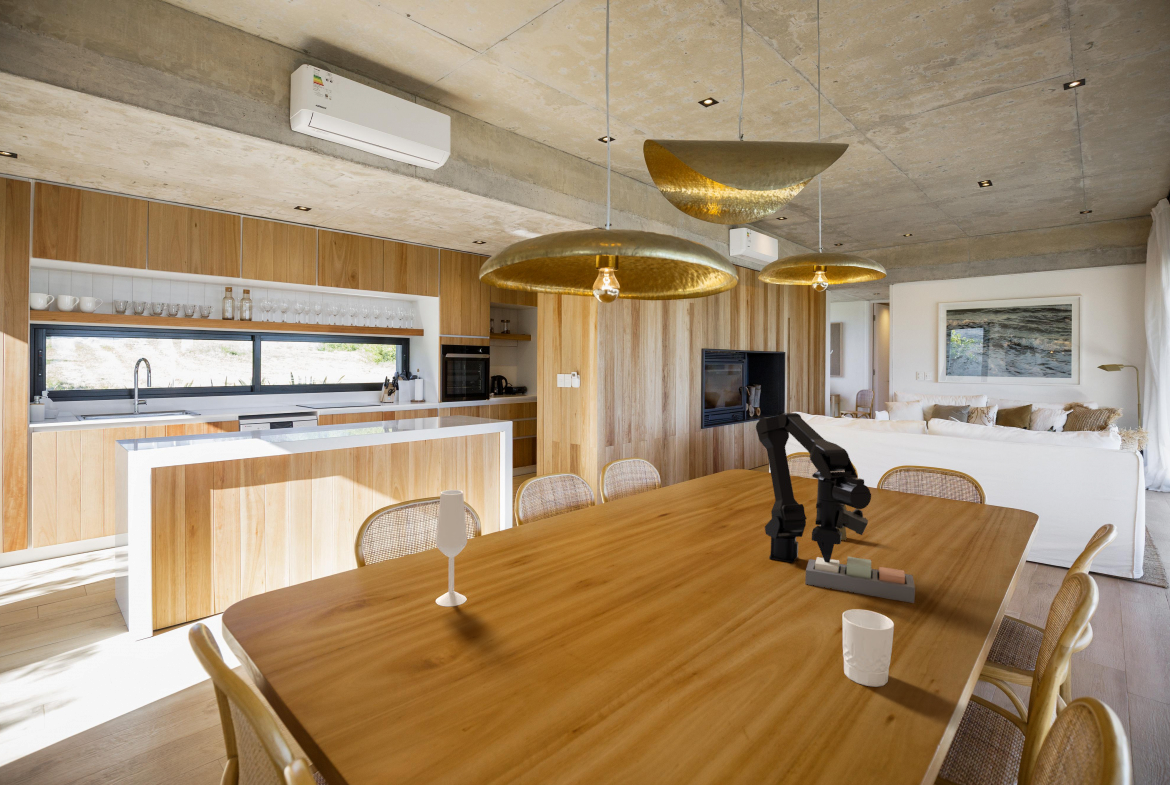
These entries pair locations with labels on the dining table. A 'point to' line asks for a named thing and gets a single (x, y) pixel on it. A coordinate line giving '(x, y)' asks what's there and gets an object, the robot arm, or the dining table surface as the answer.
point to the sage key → (859, 567)
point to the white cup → (867, 646)
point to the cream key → (827, 565)
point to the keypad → (861, 583)
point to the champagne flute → (451, 538)
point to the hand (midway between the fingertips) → (827, 561)
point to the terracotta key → (891, 575)
